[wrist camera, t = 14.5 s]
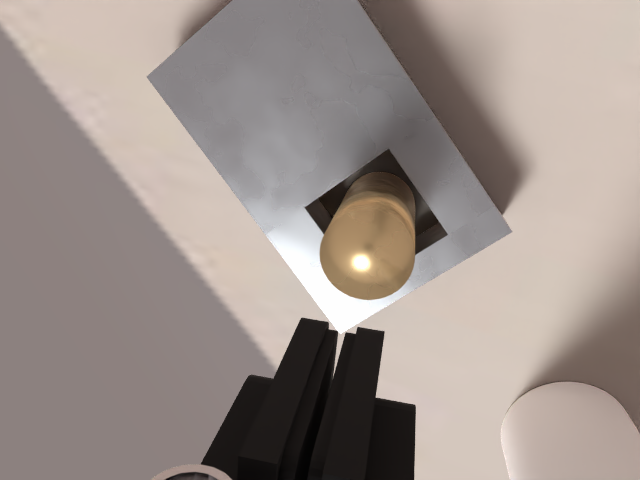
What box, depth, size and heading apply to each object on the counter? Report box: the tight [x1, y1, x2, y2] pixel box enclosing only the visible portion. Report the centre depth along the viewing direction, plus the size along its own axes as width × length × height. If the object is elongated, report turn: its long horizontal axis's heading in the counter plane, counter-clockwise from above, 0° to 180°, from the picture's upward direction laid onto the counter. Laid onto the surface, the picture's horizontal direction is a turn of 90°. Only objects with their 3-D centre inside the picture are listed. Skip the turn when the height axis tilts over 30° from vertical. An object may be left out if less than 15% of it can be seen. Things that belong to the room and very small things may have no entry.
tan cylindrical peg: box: [320, 172, 415, 300], centre depth 25 cm, size 4×4×8 cm
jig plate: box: [147, 0, 512, 334], centre depth 27 cm, size 16×10×3 cm, turn 37°
